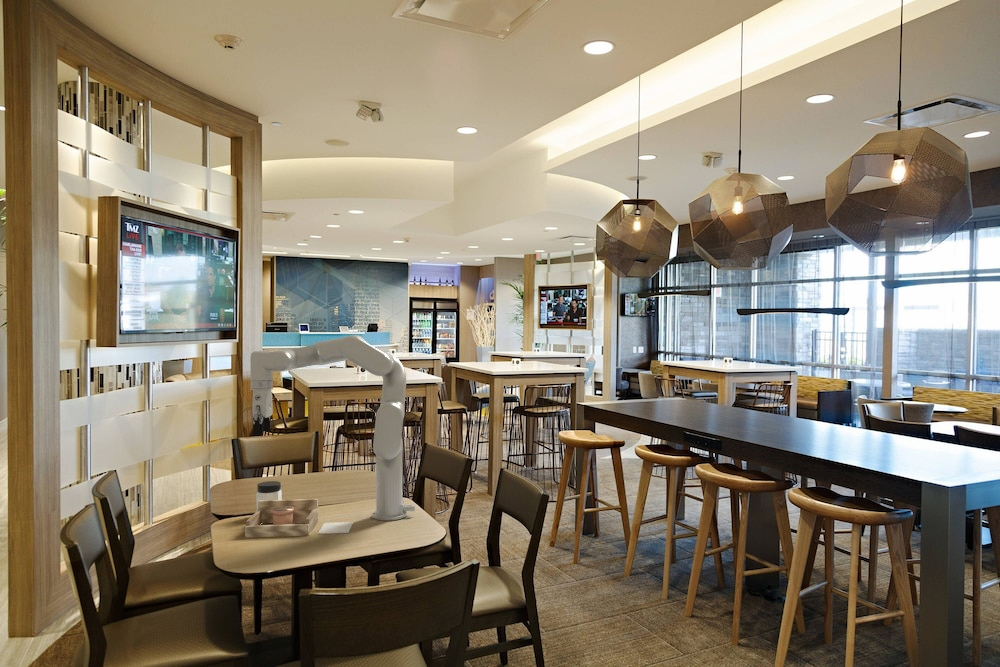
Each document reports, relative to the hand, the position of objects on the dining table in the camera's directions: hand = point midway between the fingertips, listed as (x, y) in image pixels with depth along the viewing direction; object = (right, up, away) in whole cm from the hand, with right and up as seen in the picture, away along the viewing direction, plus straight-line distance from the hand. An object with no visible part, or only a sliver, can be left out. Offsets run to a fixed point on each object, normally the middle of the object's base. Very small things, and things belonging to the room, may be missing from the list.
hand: (262, 433), depth 235 cm
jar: (+1, -31, +5) cm, 32 cm away
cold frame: (+11, -31, -11) cm, 35 cm away
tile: (+29, -31, -11) cm, 44 cm away
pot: (+11, -31, -11) cm, 35 cm away
